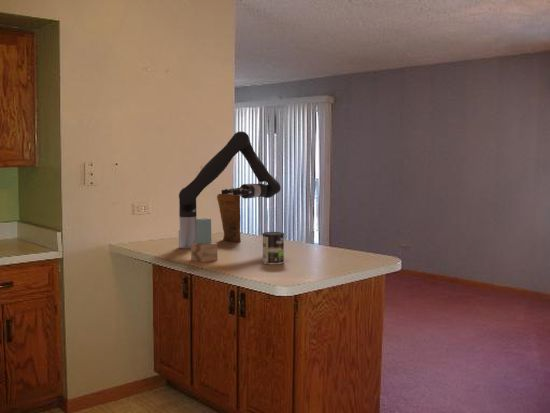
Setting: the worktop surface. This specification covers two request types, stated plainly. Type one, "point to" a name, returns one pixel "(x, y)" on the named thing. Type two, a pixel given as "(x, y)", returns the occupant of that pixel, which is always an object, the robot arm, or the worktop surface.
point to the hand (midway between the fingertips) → (227, 192)
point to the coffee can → (273, 248)
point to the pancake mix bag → (230, 216)
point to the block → (203, 252)
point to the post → (203, 231)
